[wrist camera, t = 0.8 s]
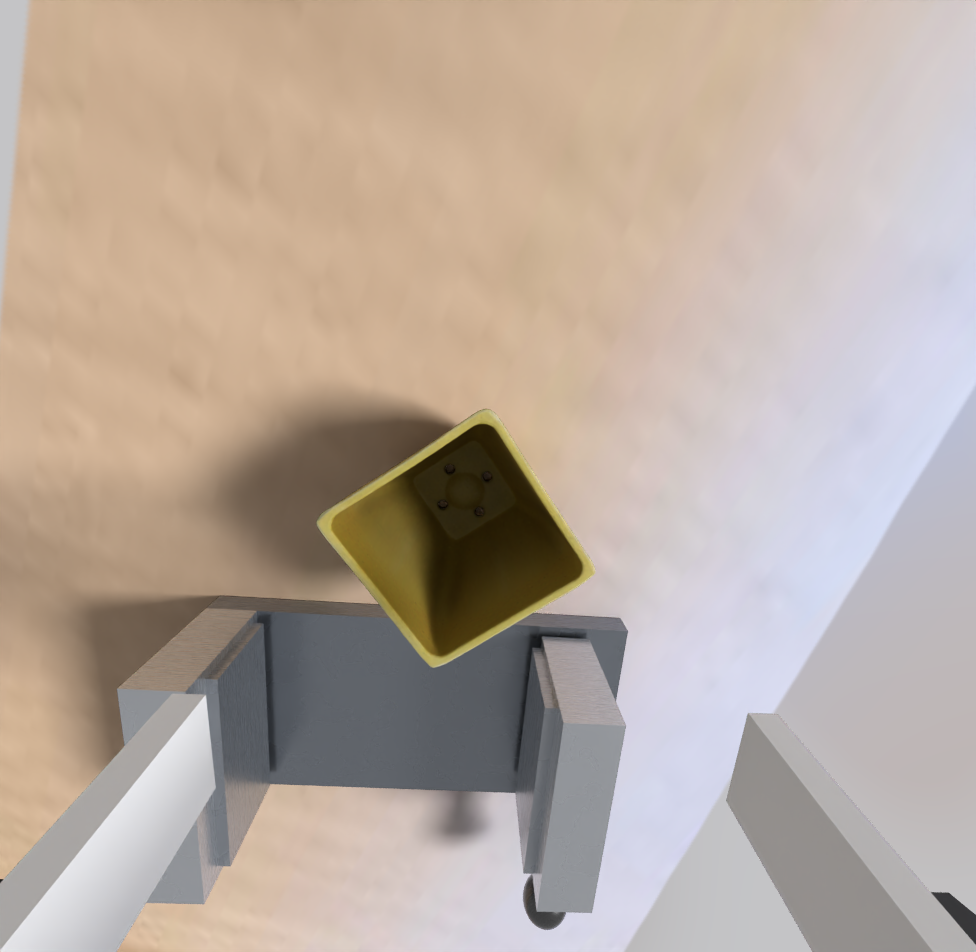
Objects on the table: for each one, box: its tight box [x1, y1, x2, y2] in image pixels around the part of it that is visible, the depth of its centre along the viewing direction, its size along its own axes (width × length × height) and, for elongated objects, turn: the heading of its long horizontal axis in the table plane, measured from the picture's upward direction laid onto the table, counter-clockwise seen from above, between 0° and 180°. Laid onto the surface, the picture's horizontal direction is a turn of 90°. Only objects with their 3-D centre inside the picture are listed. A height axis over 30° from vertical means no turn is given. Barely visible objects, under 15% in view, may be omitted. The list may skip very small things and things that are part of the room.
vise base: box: [117, 596, 628, 904], centre depth 27 cm, size 13×26×8 cm, turn 86°
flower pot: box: [316, 409, 595, 668], centre depth 23 cm, size 9×9×9 cm
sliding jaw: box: [515, 636, 626, 930], centre depth 27 cm, size 18×4×7 cm, turn 175°
